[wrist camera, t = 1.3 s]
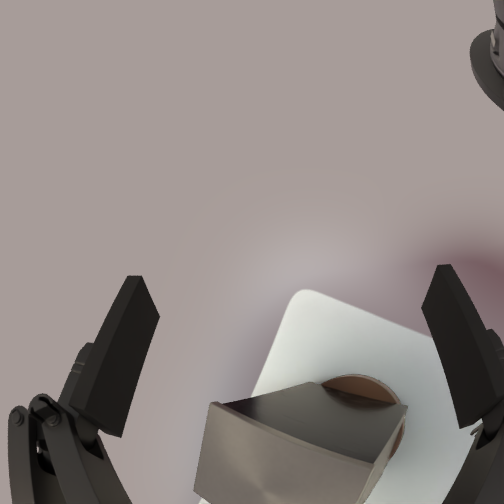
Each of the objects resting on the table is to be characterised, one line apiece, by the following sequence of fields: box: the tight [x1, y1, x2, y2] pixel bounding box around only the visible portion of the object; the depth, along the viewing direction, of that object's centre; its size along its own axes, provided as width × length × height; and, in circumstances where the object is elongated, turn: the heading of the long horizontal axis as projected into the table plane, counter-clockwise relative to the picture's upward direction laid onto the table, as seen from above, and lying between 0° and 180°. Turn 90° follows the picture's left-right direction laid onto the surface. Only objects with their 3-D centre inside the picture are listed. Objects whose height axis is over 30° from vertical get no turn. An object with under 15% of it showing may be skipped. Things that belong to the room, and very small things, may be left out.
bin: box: [193, 382, 408, 504], centre depth 21 cm, size 9×14×16 cm, turn 75°
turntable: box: [320, 374, 405, 459], centre depth 27 cm, size 13×13×2 cm
